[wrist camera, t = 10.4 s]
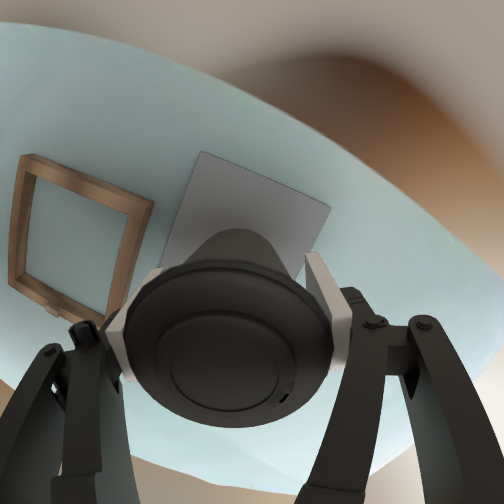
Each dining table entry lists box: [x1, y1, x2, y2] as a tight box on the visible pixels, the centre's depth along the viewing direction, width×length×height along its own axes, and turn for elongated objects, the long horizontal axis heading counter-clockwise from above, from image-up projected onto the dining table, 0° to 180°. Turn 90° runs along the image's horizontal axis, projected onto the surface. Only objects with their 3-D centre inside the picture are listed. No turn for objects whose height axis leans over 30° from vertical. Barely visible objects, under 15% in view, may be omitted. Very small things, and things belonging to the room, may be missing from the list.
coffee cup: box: [123, 228, 334, 428], centre depth 14 cm, size 8×8×10 cm
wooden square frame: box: [8, 154, 154, 331], centre depth 24 cm, size 14×14×3 cm
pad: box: [159, 151, 332, 281], centre depth 24 cm, size 11×11×1 cm
